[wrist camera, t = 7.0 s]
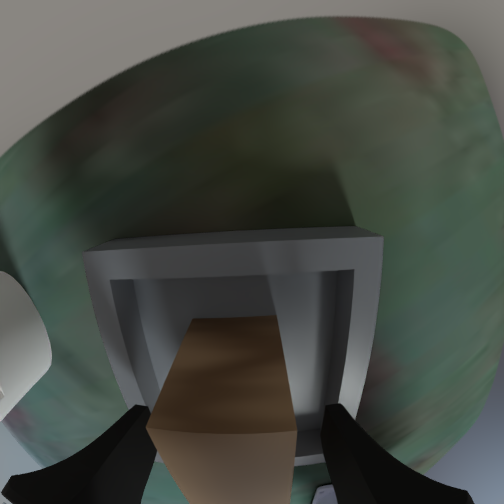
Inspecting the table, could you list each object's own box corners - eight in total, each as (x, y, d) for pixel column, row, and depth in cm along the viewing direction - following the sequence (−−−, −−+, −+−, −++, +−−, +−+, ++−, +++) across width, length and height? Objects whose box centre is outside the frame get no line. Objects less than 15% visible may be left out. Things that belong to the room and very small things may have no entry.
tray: (332, 428, 15) (342, 459, 12) (164, 431, 16) (155, 461, 13) (356, 226, 12) (383, 236, 9) (113, 239, 12) (82, 252, 10)
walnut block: (276, 315, 12) (297, 430, 6) (278, 404, 14) (289, 507, 7) (192, 318, 13) (145, 427, 6) (209, 406, 14) (191, 506, 7)
